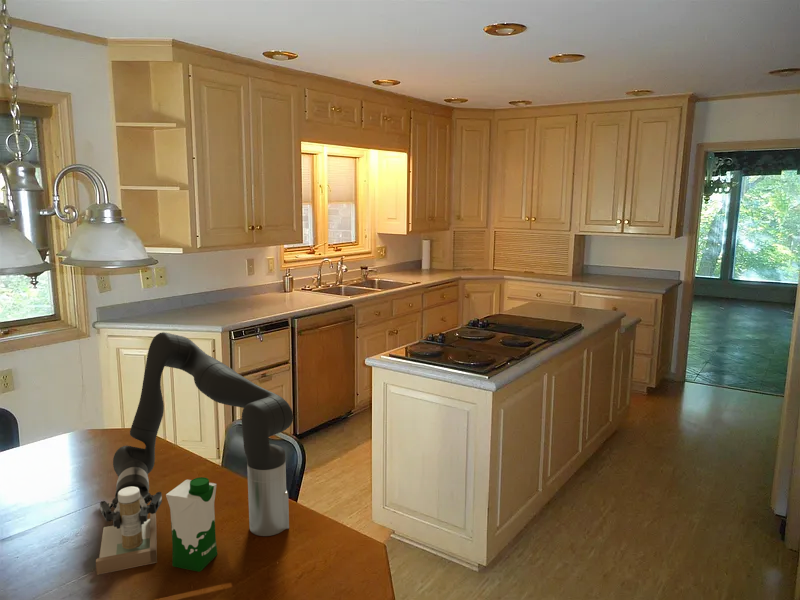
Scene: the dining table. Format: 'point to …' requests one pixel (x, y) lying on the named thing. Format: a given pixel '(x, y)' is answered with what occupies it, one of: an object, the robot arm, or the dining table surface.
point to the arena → (131, 559)
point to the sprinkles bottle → (130, 517)
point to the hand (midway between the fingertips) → (130, 522)
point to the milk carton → (193, 524)
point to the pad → (143, 546)
